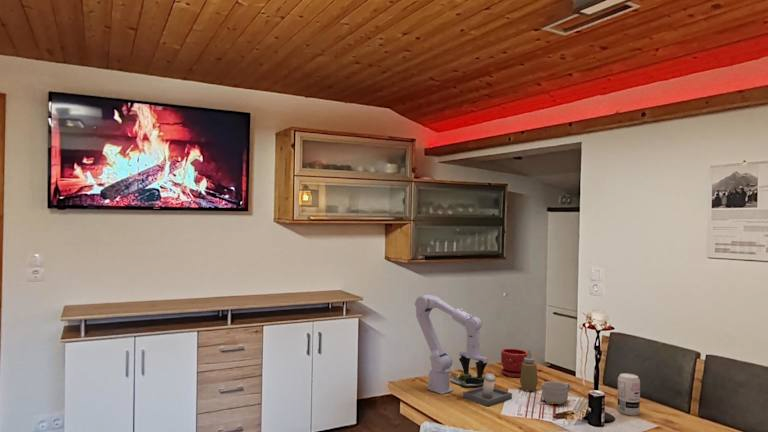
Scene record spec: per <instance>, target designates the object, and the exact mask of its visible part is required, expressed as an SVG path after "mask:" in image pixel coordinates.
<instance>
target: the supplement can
mask: <svg viewBox="0 0 768 432" xmlns="http://www.w3.org/2000/svg"><path fill="white" fill-rule="evenodd" d="M640 400H641V380H640V378H639V376H638V375H636V374H633V373H624V372H623V373H619V376H618V377H617V411H618V412H619V413H621V414H623V415H626V416H630V417H631V416H632V417H633V416H637V415H639V414H640V413H641V410H640V407H641V401H640Z"/></svg>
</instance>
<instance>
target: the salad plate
mask: <svg viewBox="0 0 768 432" xmlns="http://www.w3.org/2000/svg"><path fill="white" fill-rule="evenodd" d="M450 377H451V378H450V381H451V382H452V383H453V384H456V385H458V386H461V387H464V388H470V389H472V388H473V389H476V388H479V387H483V383H484V376H483V375H482V378H478V377H477V374H472V373H470V372H469V373H468V374H464V372H462V373H461V372H458V375H455V374H454V373H451V374H450Z"/></svg>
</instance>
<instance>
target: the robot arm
mask: <svg viewBox="0 0 768 432" xmlns="http://www.w3.org/2000/svg"><path fill="white" fill-rule="evenodd" d="M414 306H415V313H416V315H415V317H416V320H417V321H418V324H419V326H420V327H419V328H420V329H421V331H422V333H423V336H424V338H425V341H426V343H427V345H428V347H429V350H430V357H429V360H430V363H431V364H430V366H431V370H429V373H428V387H427V388H426V389H427V390H429V391H432V392H435V393H438V394H441V395H443V394H446V393H451V392H454V389H453V388H451V387H450V381H451V378H450V377H451V374H450V372H451V371H450V369H451V367H452V366H453V359H452V357H451V356H450V355H449V353H448V352H447V350H446V349H444V348H443V346H442V344H441V342H440V340H439V337H438V334H437V333H436V330H435V328H434V326H433V323H432V321H431V319H430V314H431V312H432V310H433V309H438V310H440V311H442V312H444V313H446V314H448V315H450V316H451V318H452V320H453V321H455V322H457V323H458V324H459V325H461V326H463V327H464V329H465V330H466V351H459V352H458V355H459V356H458V357H459V359H458V360H459V362H460V364H461V366H462V371H463V373H464V374H468V373H469V374H470V363H471V360H473V361H476V362H475V363H474V364H475V366H476V367H475V368H476V375H477V377H478V378H482V376H483V374H484V370H485V368H486V366H487V365H488V357H486V356H484V355H481V352H480V350H481V329H482V326H483V322H482V319H481V318H480V317H479V316H473V314H471V313H468V312H466V311H464V310H465V309H463V308H462V307H461V308H459V307H458V308H454V307H453V306H451V305H449V304H448V303H447V302H445V301H444V300H443V299H440V297H439V296H437V295H435V294H433V293H428V294H425V295H419V296H418V297H417V298H416V299H415V302H414Z"/></svg>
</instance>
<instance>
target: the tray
mask: <svg viewBox="0 0 768 432" xmlns="http://www.w3.org/2000/svg"><path fill="white" fill-rule="evenodd" d="M482 391H483V386H482V387H478V388H473V389H469V390H466V391H463V393H462V394H463V395H462V399H465V400H468V401H471V402H473V403H477V404H480V405H482V406H486V407H492V406H496V405H497V404H501V403H503V402H504V403H505V402H507V401H509V400H513V393H512V392H509V391H506V390H503V389H499V388H496V387H494V390H493V396H492V397H491V398H486V397H484V396H483V395H482Z"/></svg>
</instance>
